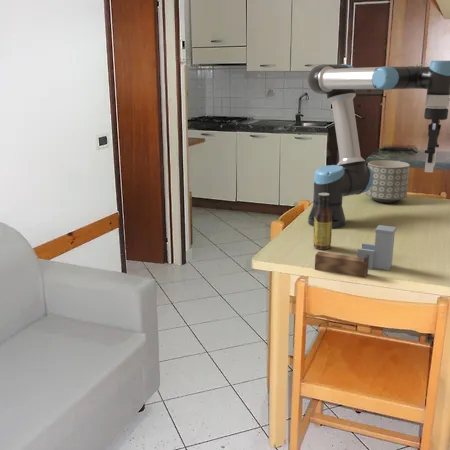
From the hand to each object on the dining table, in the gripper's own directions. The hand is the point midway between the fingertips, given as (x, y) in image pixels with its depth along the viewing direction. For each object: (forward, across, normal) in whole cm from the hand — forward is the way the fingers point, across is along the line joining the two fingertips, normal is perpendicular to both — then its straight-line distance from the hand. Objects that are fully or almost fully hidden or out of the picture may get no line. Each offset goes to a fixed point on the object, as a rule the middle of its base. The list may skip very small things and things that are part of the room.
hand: (429, 168), depth 188 cm
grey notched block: (+27, -32, +12) cm, 44 cm away
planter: (+28, +59, +20) cm, 69 cm away
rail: (+27, -42, +21) cm, 54 cm away
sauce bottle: (+28, -21, +32) cm, 47 cm away
